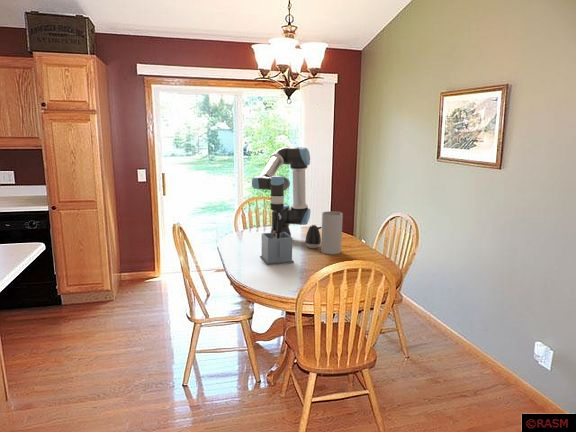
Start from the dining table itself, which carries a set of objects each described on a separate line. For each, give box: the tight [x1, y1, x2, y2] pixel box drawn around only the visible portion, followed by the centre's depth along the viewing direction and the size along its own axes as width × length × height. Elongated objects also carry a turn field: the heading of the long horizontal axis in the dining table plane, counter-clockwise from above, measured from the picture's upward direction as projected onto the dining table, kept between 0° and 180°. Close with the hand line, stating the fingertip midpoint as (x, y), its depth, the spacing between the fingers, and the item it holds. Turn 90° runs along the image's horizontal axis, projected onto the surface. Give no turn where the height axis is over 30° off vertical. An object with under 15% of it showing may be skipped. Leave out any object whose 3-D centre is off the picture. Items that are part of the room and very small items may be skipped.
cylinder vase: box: [320, 210, 343, 256], centre depth 257 cm, size 12×12×25 cm
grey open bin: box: [259, 232, 294, 266], centre depth 240 cm, size 18×16×15 cm
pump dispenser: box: [305, 224, 322, 249], centre depth 268 cm, size 10×10×15 cm
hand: (276, 242), depth 240 cm, fingers closed on plunger, 4 cm apart
